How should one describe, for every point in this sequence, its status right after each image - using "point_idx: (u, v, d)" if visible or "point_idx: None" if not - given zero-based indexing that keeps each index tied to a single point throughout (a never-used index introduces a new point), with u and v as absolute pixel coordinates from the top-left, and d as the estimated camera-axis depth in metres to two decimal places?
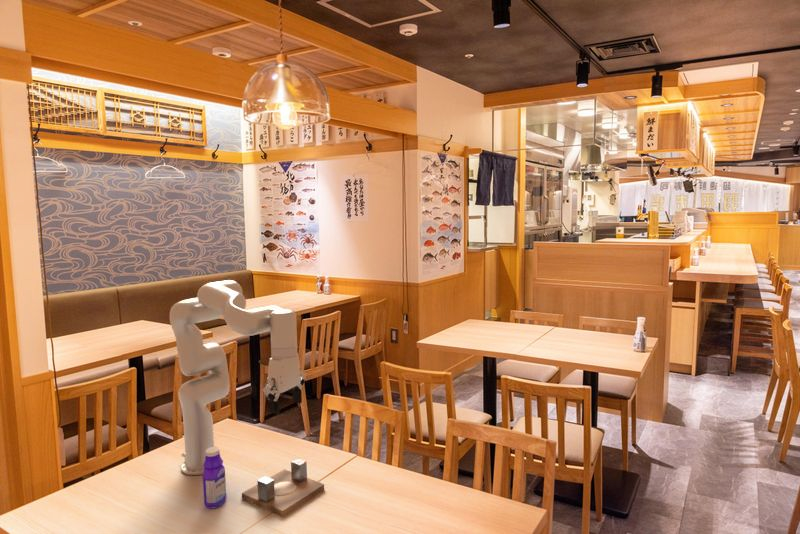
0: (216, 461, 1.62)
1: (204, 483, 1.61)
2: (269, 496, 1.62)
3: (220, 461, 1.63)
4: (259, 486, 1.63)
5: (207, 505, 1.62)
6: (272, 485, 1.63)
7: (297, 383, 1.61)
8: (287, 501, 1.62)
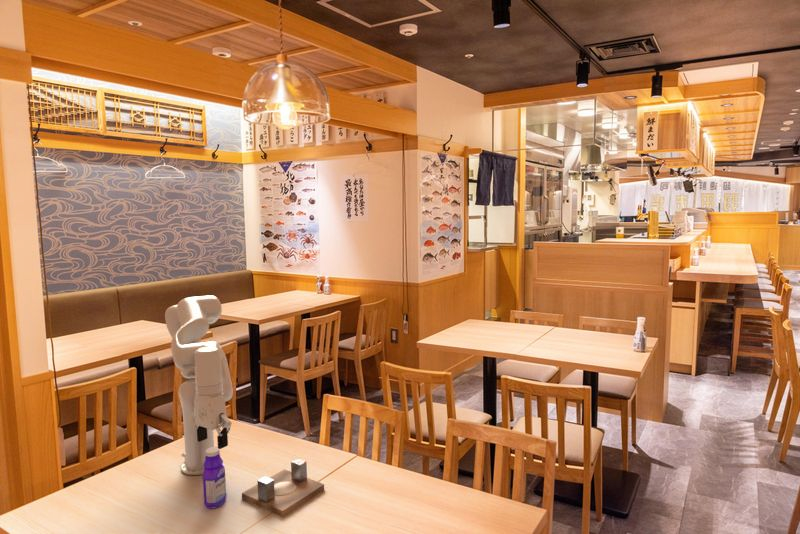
0: (216, 461, 1.62)
1: (204, 483, 1.61)
2: (269, 496, 1.62)
3: (220, 461, 1.63)
4: (259, 486, 1.63)
5: (207, 505, 1.62)
6: (272, 485, 1.63)
7: None
8: (287, 501, 1.62)
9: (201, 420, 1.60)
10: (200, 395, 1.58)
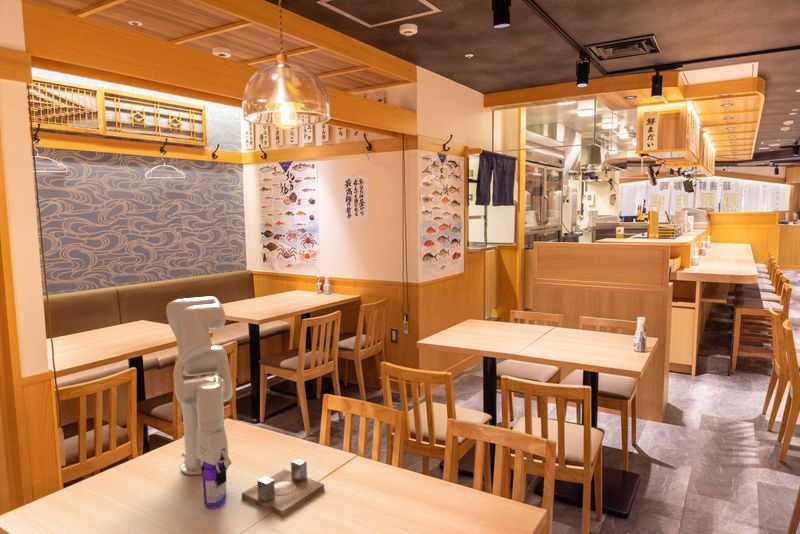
0: None
1: (204, 483, 1.61)
2: (269, 496, 1.62)
3: None
4: (259, 486, 1.63)
5: (207, 505, 1.62)
6: (272, 485, 1.63)
7: None
8: (287, 501, 1.62)
9: (203, 455, 1.62)
10: (202, 431, 1.59)
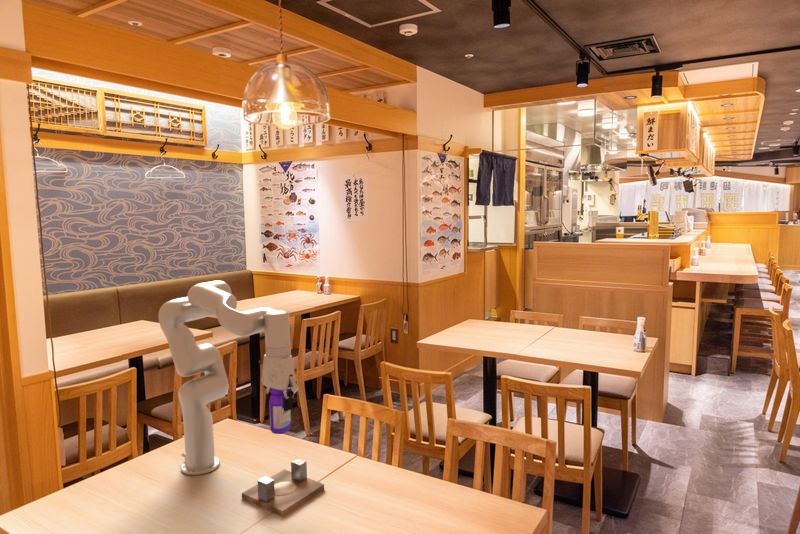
0: None
1: (271, 409, 1.63)
2: (269, 496, 1.62)
3: None
4: (259, 486, 1.63)
5: (274, 431, 1.64)
6: (272, 485, 1.63)
7: None
8: (287, 501, 1.62)
9: (271, 381, 1.64)
10: (270, 357, 1.61)
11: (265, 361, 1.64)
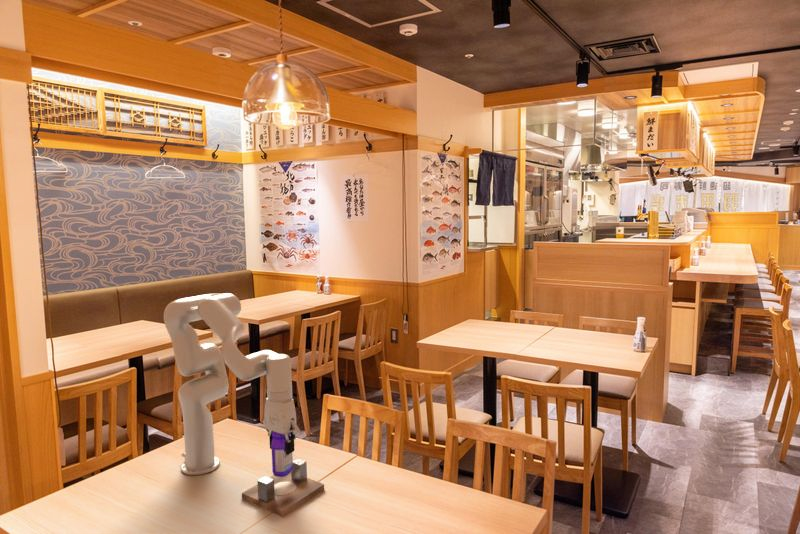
0: None
1: (273, 452, 1.65)
2: (269, 496, 1.62)
3: None
4: (259, 486, 1.63)
5: (276, 474, 1.66)
6: (272, 485, 1.63)
7: None
8: (287, 501, 1.62)
9: (272, 425, 1.65)
10: (272, 401, 1.63)
11: (267, 405, 1.66)
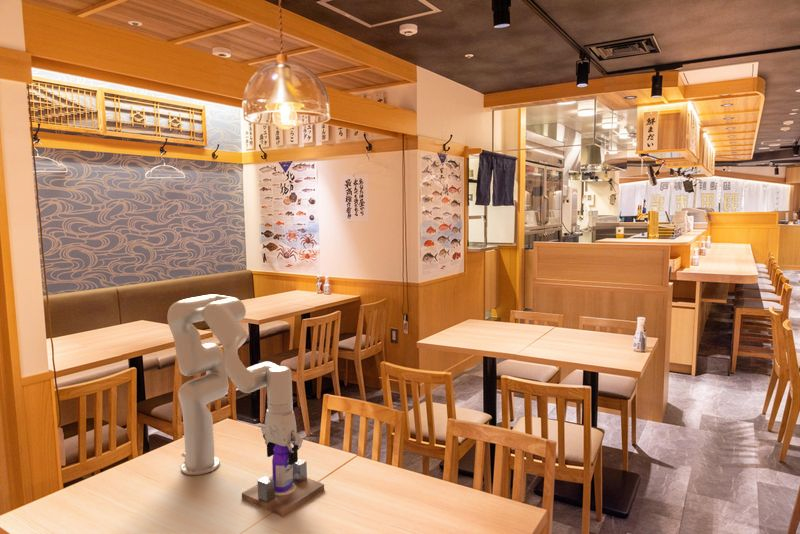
0: (286, 446, 1.66)
1: (274, 467, 1.66)
2: (269, 496, 1.62)
3: None
4: (259, 486, 1.63)
5: (276, 489, 1.67)
6: (272, 485, 1.63)
7: None
8: (287, 501, 1.62)
9: (273, 437, 1.66)
10: (273, 413, 1.63)
11: (267, 417, 1.67)
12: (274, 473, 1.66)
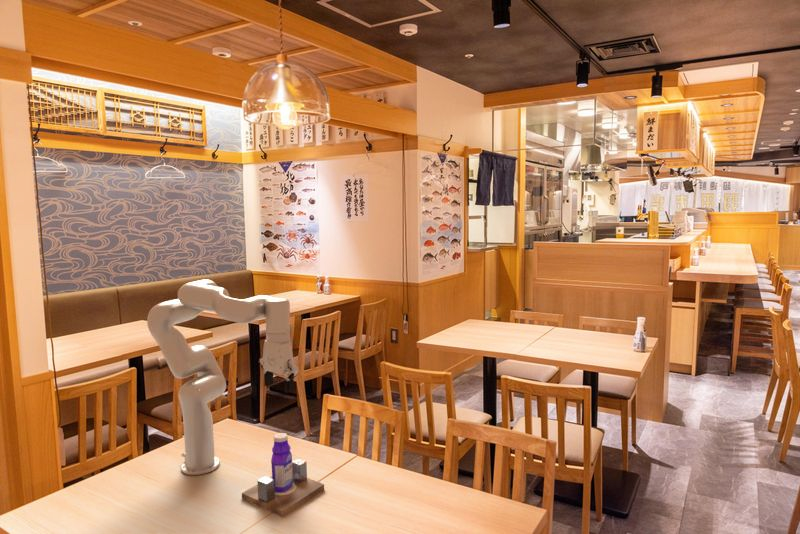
0: (285, 446, 1.67)
1: (273, 468, 1.66)
2: (269, 496, 1.62)
3: (288, 447, 1.68)
4: (259, 486, 1.63)
5: (276, 489, 1.67)
6: (272, 485, 1.63)
7: None
8: (287, 501, 1.62)
9: (270, 365, 1.71)
10: (270, 342, 1.69)
11: (265, 346, 1.72)
12: (273, 473, 1.66)
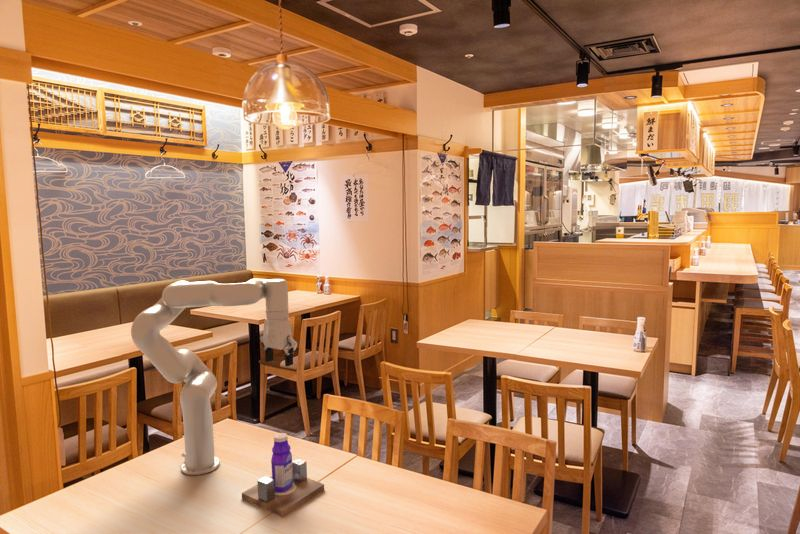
0: (285, 446, 1.67)
1: (273, 468, 1.66)
2: (269, 496, 1.62)
3: (288, 447, 1.68)
4: (259, 486, 1.63)
5: (276, 489, 1.67)
6: (272, 485, 1.63)
7: None
8: (287, 501, 1.62)
9: (271, 342, 1.84)
10: (270, 319, 1.82)
11: (266, 324, 1.85)
12: (273, 473, 1.66)
